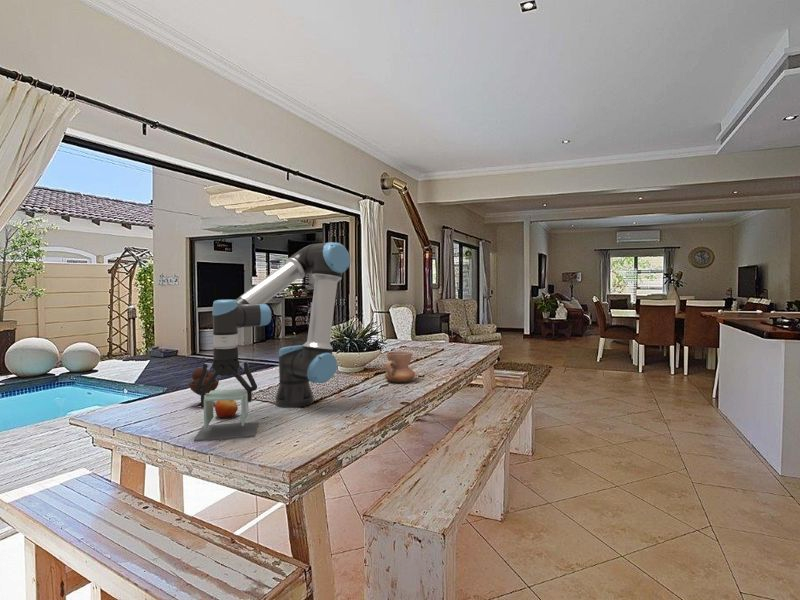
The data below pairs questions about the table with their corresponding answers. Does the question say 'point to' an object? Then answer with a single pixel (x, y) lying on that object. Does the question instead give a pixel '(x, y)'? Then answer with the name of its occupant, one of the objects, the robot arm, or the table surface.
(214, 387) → the ice cream bowl
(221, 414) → the fruit
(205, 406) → the cover
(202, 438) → the mat
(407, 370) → the ceramic jug
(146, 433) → the table surface
